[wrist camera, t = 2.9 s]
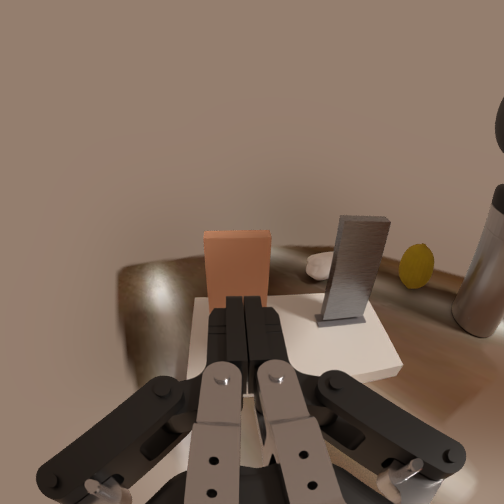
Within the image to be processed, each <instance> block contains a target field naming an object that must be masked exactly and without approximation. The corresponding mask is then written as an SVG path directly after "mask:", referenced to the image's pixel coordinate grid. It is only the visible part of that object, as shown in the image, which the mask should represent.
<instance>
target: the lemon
mask: <svg viewBox="0 0 504 504" xmlns="http://www.w3.org/2000/svg"><path fill="white" fill-rule="evenodd" d="M433 268H434V257H433V253H432V252H431V250H430V249H429V248H428V247H427V246H426V245H425V244H423V243H422V244H416V245H413V246H411V247H409V248H408V249H407V250H406V252H405V253H404V255H403V257H402V259H401V261H400V266H399V276H400V279H401V281H402V283H403V284H404V285H405V286H406V287H407V288H408V289H411V288H412V289H417V288H420V287H422V286H424V285H425V284H426V283H427V282H428V281H429V279H430V277H431V275H432V272H433Z"/></svg>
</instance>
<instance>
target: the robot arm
mask: <svg viewBox="0 0 504 504" xmlns="http://www.w3.org/2000/svg"><path fill="white" fill-rule="evenodd" d="M495 134H496V139H497V143H498V145H499V147H500V149H501V150H502V152H503V153H504V98H503V100H502V101H501V104H500V106H499V109H498V112H497V116H496V122H495ZM452 314H453V316H454V318H455V320H456V321H457V322H458V324H459V325H460V326H461V327H462V328H463V329H465V330H466V331H467V332H469V333H471V334H473V335H475V336H478V337H489V336H491V335H492V334H493V333H494V332H495V330H496V329H497V327H498V325H499V324H500V322H501V321H502V319H503V317H504V184H500V185H498V186H497V187H496V189H495V192H494V196H493V199H492V203H491V207H490V210H489V213H488V217H487V220H486V223H485V226H484V229H483V232H482V235H481V238H480V241H479V244H478V246H477V249H476V252H475V255H474V257H473V260H472V262H471V264H470V267H469V269H468V272H467V274H466V276H465V278H464V281H463V283H462V285H461V287H460V289H459V292H458V294H457V296H456V298H455V300H454V302H453V304H452ZM247 387H248V394H254V401H255V405H254V412H255V417H256V422H257V427H258V432H259V437H260V442H261V447H262V459H263V465H264V467H262V468H251V467H245V466H240V442H241V411H242V408H243V394H246V392H247ZM191 430H192V435H191V443H190V451H189V460H188V469H187V471H184V472H182V473H180V474H178V475H176V476H174V477H173V478H172V479H170V480H169V481H168V482H167V483H166V484H165V485H164V486H163V487H162V488H161V489H160V490H159V491H158V492H157V493H156V494H155V495H154V496H153V497H152V498H151V499H150V500H149V501H148V502H146V503H145V504H430V502H431V501H432V499H433V497H434V496H435V494H436V492H437V490H438V489H439V487H440V485H441V483H442V481H443V480H444V479H446V478H447V477H449V476H451V475H453V474H454V473H456V472H458V471H459V470H460V469H461V468H462V467H463V466H464V464H465V461H466V452H465V449H464V447H463V446H462V445H461V444H460V443H459V442H457V441H455V440H454V439H452V438H450V437H448V436H447V435H445V434H443V433H441V432H440V431H438V430H436V429H435V428H433V427H431V426H429V425H428V424H426V423H424V422H423V421H421V420H419V419H418V418H416V417H414V416H413V415H411V414H409V413H408V412H406V411H405V410H403V409H401V408H400V407H398V406H396V405H395V404H393V403H392V402H390V401H388V400H387V399H385V398H384V397H382V396H381V395H379V394H377V393H376V392H374V391H373V390H371V389H370V388H368V387H367V386H365V385H364V384H362V383H360V382H359V381H357V380H356V379H354V378H353V377H351V376H350V375H348V374H347V373H345V372H343V371H340V370H329V371H326V372H324V373H323V374H322V375H321V376H314V375H308V374H304V373H301V372H299V371H297V370H296V369H295V368H294V367H293V366H292V365H291V364H290V362H289V359H288V354H287V349H286V345H285V340H284V336H283V332H282V326H281V322H280V317H279V314H278V313H277V312H276V311H275V309H274V308H273V307H262V303H261V297H260V296H243V298H242V296H226V308H214V309H213V310H212V312H211V313H210V315H209V319H208V339H207V362H206V366H205V368H204V370H203V371H202V373H200V374H199V375H198V376H196V377H194V378H191V379H188V380H184V381H180V382H179V381H177V380H176V379H175V378H173V377H170V376H158V377H155V378H153V379H151V380H150V381H149V382H147V383H146V384H145V385H144V386H143V387H141V388H140V389H139V390H138V391H137V392H135V393H134V394H133V395H132V396H131V397H129V398H128V399H127V400H126V401H124V402H123V403H122V404H121V405H119V406H118V407H117V408H116V409H114V410H113V411H112V412H111V413H110V414H108V415H107V416H106V417H105V418H103V419H102V420H101V421H99V422H98V423H97V424H96V425H94V426H93V427H92V428H91V429H89V430H88V431H87V432H85V433H84V434H83V435H82V436H80V437H79V438H78V439H76V440H75V441H74V442H73V443H71V444H70V445H69V446H67V447H66V448H65V449H63V450H62V451H61V452H60V453H58V454H57V455H55V456H54V457H53V458H52V459H50V460H49V461H48V462H46V463H45V464H43V465H42V466H41V467H40V468H39V469H38V471H37V474H36V482H37V485H38V487H39V489H40V490H41V492H42V493H43V494H44V495H45V496H47V497H48V498H50V499H53V500H55V501H57V502H59V503H60V504H132V497H131V494H130V492H129V490H128V489H129V488H130V487H131V486H132V485H133V484H135V483H136V482H137V481H138V480H139V479H140V478H142V477H143V476H144V475H145V474H146V473H147V472H148V471H150V470H151V469H152V468H153V467H154V466H155V465H156V464H157V463H158V462H159V461H160V460H162V459H163V458H164V457H165V456H166V455H167V454H168V453H169V452H170V451H171V450H172V449H173V448H174V447H175V446H176V445H177V444H178V443H180V442H181V441H182V440H183V439H184V438H185V437H186V436H187V435H188V434H189V433H190V431H191ZM324 439H325V440H326V441H328V442H329V443H330V444H332V445H333V446H335V447H336V448H337V449H339V450H340V451H342V452H343V453H344V454H346V455H347V456H349V457H350V458H352V459H353V460H355V461H356V462H358V463H359V464H361V465H362V466H364V467H365V468H367V469H368V470H370V471H372V472H373V473H375V474H376V475H378V476H377V486H378V488H379V490H380V491H381V492H382V493H383V494H385V496H386V497H387V498H385V497H384V496H382V495H381V494H379V493H378V492H376V491H375V490H373V489H372V488H370V487H369V486H367V485H366V484H364V483H363V482H361V481H360V480H359V479H357V478H356V477H354V476H353V475H352V474H350V473H349V472H348V471H346V470H345V469H343V468H341V467H339V466H337V465H335V464H332V463H331V460H330V457H329V454H328V451H327V448H326V445H325V442H324Z"/></svg>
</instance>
